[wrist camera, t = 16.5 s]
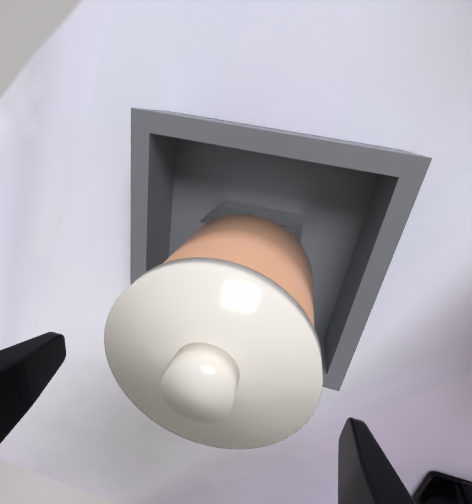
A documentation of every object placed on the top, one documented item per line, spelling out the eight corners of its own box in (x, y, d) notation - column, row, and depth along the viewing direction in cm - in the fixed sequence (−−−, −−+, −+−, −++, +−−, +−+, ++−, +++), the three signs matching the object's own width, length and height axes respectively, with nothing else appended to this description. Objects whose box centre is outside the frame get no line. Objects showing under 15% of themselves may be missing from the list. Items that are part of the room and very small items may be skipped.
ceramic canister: (297, 351, 17) (289, 505, 10) (172, 317, 18) (89, 437, 11) (335, 228, 14) (362, 329, 7) (183, 195, 15) (77, 256, 8)
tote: (333, 343, 23) (339, 390, 19) (159, 299, 25) (130, 333, 21) (402, 150, 17) (431, 158, 13) (168, 111, 19) (131, 107, 15)
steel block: (284, 285, 21) (278, 329, 16) (214, 267, 21) (190, 306, 17) (302, 215, 19) (301, 244, 14) (224, 199, 19) (199, 221, 15)
